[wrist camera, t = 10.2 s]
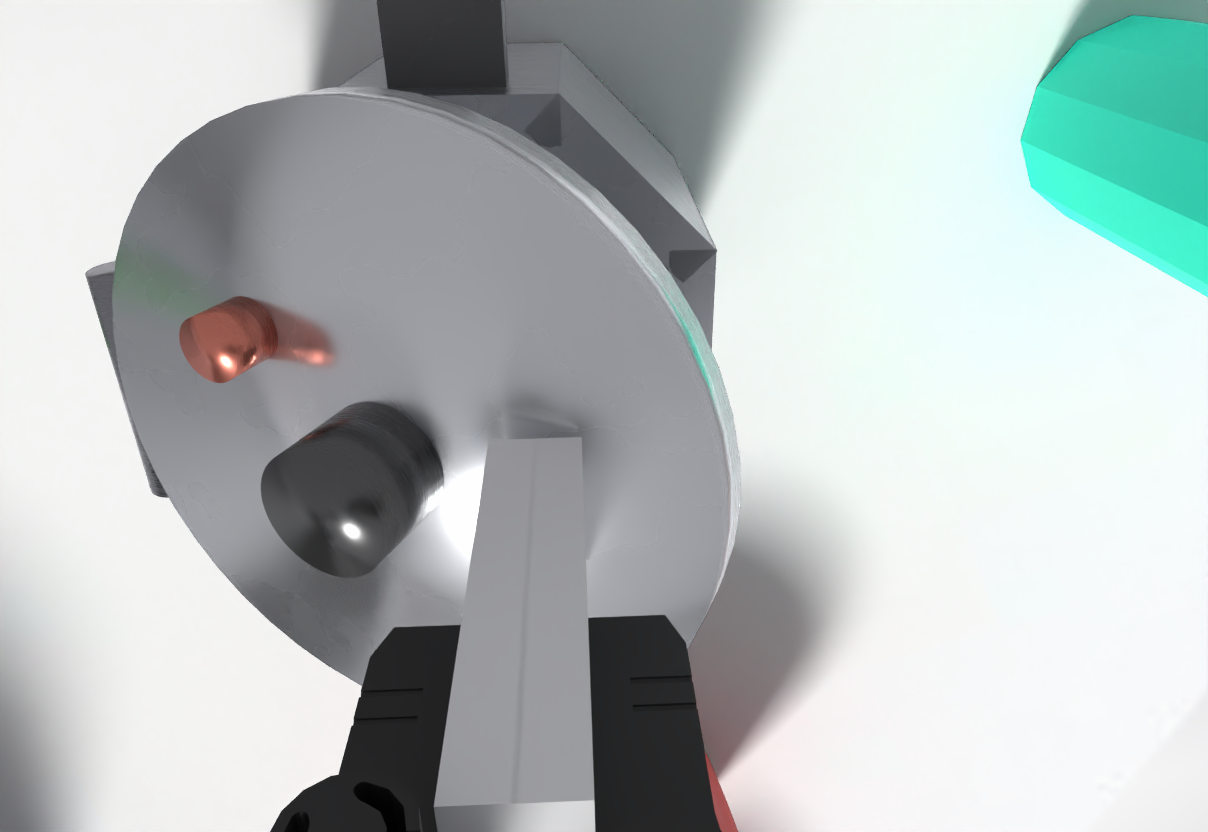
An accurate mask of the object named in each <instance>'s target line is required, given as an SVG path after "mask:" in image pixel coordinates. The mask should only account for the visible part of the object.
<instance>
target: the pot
mask: <svg viewBox="0 0 1208 832" xmlns="http://www.w3.org/2000/svg"><path fill="white" fill-rule="evenodd" d="M377 7H378V15H379V23H380V31H381V39H382V47H383V56H382V57H381V58H379V59H378V60H376V61H375V62H373V63H372V64H370V65H369V66H367V67H366V68H364V69H363V70H361V71H360V72H358V73H357V74H355V75H354V76H352V77H351V78H349V79H348V80H346V81H345V82H344V83H342V84H341V85H339V86H338V87H336V88H340V87H378V88H385V89H392V90H399V91H407V92H414V93H419V94H422V95H425V96H429V97H432V98H436V99H439V100H442V101H446V102H449V103H453V104H456V105H459V106H463V107H465V108H467V109H470V110H472V111H474V112H476V113H478V114H481V115H483V116H485V117H487V118H489V119H492V120H494V121H496V122H498V123H500V124H503V125H505V126H507V127H509V128H511V129H513V130H514V131H516V132H517V133H519V134H521V135H522V136H524V137H526V138H527V139H529V140H530V141H532V142H534V143H535V144H537V145H538V146H540V147H542V148H543V149H545V150H546V151H548V152H550V153H551V154H553V155H554V156H556V157H557V158H558V159H560V160H561V161H562V162H563V163H565V164H566V165H567V166H568V167H570V168H571V169H572V170H573V171H575V172H576V173H577V174H578V175H579V176H581V177H582V178H583V179H584V180H586V181H587V182H588V183H589V184H591V185H592V186H593V187H594V188H596V189H597V190H598V191H599V192H600V193H601V194H602V195H603V196H604V197H605V198H606V199H607V200H608V201H609V202H610V203H611V204H612V205H613V206H614V207H615V208H616V209H617V210H618V211H619V212H620V213H621V214H622V215H623V217H624V218H625V219H626V220H627V221H628V222H629V223H630V224H631V225H632V226H633V227H634V228H635V229H636V230H637V231H638V232H639V233H640V235H641V236H642V237H643V239H644V240H645V241H646V243H647V244H648V245H649V247H650V248H651V249H652V250H653V252H654V253H655V254H656V256H657V257H658V258H659V260H660V261H661V262H662V264H663V265H664V266H665V267H666V269H667V270H668V271H669V273H670V274H671V275H672V277H673V279H674V280H675V282H676V284H677V286H678V287H679V289H680V291H681V292H682V294H683V296H684V297H685V299H686V301H687V302H688V304H689V306H690V308H691V309H692V311H693V313H694V314H695V316H696V318H697V319H698V321H699V323H700V325H701V328H702V330H703V332H704V335H705V337H706V339H707V341H708V344H709V346H710V348H711V350H712V330H713V310H714V290H715V269H716V252H717V249H716V247H715V245H714V243H713V240H712V238H711V236H710V234H709V232H708V230H707V228H706V225H705V223H704V221H703V219H702V217H701V215H700V212H699V210H698V208H697V206H696V204H695V202H694V200H693V197H692V195H691V193H690V191H689V189H688V187H687V184H686V182H685V180H684V178H683V176H682V174H681V172H680V169H679V167H678V165H677V163H676V161H675V159H674V156H673V155H672V154H671V153H670V152H669V151H668V150H667V149H666V148H665V147H664V146H663V145H662V144H661V143H660V142H659V141H658V140H657V139H656V138H655V137H654V136H653V135H652V134H651V133H650V132H649V131H648V130H647V129H646V128H645V127H644V126H643V125H642V124H641V123H640V122H639V121H638V120H637V119H636V117H635V116H634V115H633V114H632V113H631V112H630V111H629V110H628V109H627V108H626V107H625V106H624V105H623V104H622V103H621V102H620V101H619V100H618V99H617V98H616V97H615V96H614V95H613V94H612V93H611V92H610V91H609V90H608V89H607V88H606V87H605V86H604V85H603V84H602V83H601V82H600V81H599V80H598V79H597V78H596V76H595V75H594V74H593V73H592V72H591V71H590V70H589V69H588V68H587V67H586V66H585V65H584V64H583V63H582V62H581V61H580V60H579V59H578V58H577V57H576V56H575V55H574V54H573V53H572V52H571V51H570V50H569V49H568V48H567V47H566V46H565V45H564V44H563V42H551V43H507V36H506V20H505V3H504V0H377Z"/></svg>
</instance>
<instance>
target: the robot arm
mask: <svg viewBox="0 0 1208 832" xmlns="http://www.w3.org/2000/svg"><path fill="white" fill-rule="evenodd" d="M270 832H722V831H721V829H720V827H719V823H718V820H717V817H716V814H715V810H714V804H713V798H712V792H711V786H710V780H709V775H708V769H707V763H706V757H705V751H704V745H703V740H702V734H701V728H700V722H699V716H698V710H697V708H696V699H695V693H694V687H693V682H692V675H691V669H690V663H689V658H688V652H687V646H686V642H685V641H684V639H683V638H682V637H681V635H680V634H679V633H678V631H677V630H676V629H675V627H674V626H673V625H672V623H671V622H670V621H669V619H668V618H667V617H666V615H646V616H619V617H593V618H588V602H587V574H586V545H585V517H584V488H583V460H582V437H569V438H535V439H504V440H488V446H487V453H486V460H485V467H484V473H483V480H482V487H481V493H480V500H479V507H478V513H477V520H476V527H475V534H474V540H473V547H472V554H471V560H470V567H469V574H468V580H467V587H466V594H465V601H464V607H463V614H462V621H461V625H441V626H414V627H394V628H393V629H392V631H391V632H390V633H389V634H388V635H387V637H386V638H385V639H384V640H383V642H382V643H381V644H380V645H379V647H378V648H377V649H376V650H375V651H374V653H373V654H372V655H371V656H370V659H369V663H368V667H367V670H366V674H365V678H364V681H363V685H362V689H361V697H359V700H358V704H357V708H356V711H355V715H354V724H353V726H351V730H350V734H349V738H348V741H347V745H346V749H345V753H344V756H343V760H342V764H341V767H340V771H339V775H334V776H330V777H328V778H326V779H324V780H322V781H321V782H319V783H317V784H315V785H313V786H311V787H309V788H307V789H305V790H303V791H302V792H301V793H300V794H299V795H298V796H297V797H296V798H295V799H294V800H293V801H292V802H291V803H290V804H289V805H287V806H286V807H285V808H284V809H283V810H282V811H281V813H280V815H279V817H278V818H277V820H276V822H275V824H274V826H273V828H272V829H271V831H270Z"/></svg>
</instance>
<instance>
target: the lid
mask: <svg viewBox="0 0 1208 832" xmlns="http://www.w3.org/2000/svg"><path fill="white" fill-rule="evenodd" d="M85 275H86V278H87V282H88V285H89V288H90V292H91V295H92V298H93V301H94V305H95V308H96V311H97V315H98V318H99V321H100V324H101V328H102V331H103V334H104V337H105V341H106V344H107V347H108V351H109V354H110V357H111V360H112V364H113V367H114V370H115V374H116V377H117V380H118V383H119V387H120V390H121V393H122V397H123V400H124V403H125V406H126V410H127V413H128V416H129V419H130V423H131V426H132V429H133V433H134V436H135V439H136V442H137V446H138V449H139V452H140V456H141V459H142V462H143V465H144V469H145V472H146V475H147V479H148V482H149V485H150V488H151V491H152V493H153V494H154V495H156V496H159V497H169V498H170V500H171V502H172V504H173V506H174V507H175V509H176V510H177V512H178V513H179V515H180V516H181V518H182V519H183V521H184V522H185V524H186V525H187V527H188V528H189V530H190V531H191V533H192V534H193V536H194V537H195V539H196V540H197V541H198V543H199V544H200V545H201V546H202V548H203V549H204V550H205V552H206V553H207V554H208V555H209V557H210V558H211V559H212V561H213V562H214V563H215V564H216V566H217V567H218V568H219V569H220V570H221V572H222V573H223V574H224V575H225V576H226V577H227V578H228V579H229V580H230V581H231V583H232V584H233V585H234V586H235V587H236V588H237V589H238V590H239V591H240V593H241V594H242V595H243V596H244V597H245V598H246V599H247V600H248V601H249V602H250V603H251V604H253V605H254V606H255V607H256V608H257V609H258V610H259V611H260V612H261V613H262V614H263V615H264V616H265V617H266V618H267V619H268V620H269V621H270V622H271V623H273V624H274V625H275V626H276V627H278V628H279V629H280V630H281V631H282V632H284V633H285V634H286V635H287V636H288V637H290V638H291V639H292V640H293V641H294V642H296V643H297V644H298V645H299V646H301V647H302V648H304V649H305V650H307V651H308V652H309V653H311V654H312V655H314V656H315V657H316V658H318V659H319V660H321V661H322V662H323V663H325V664H326V665H328V666H329V667H331V668H333V669H334V670H336V671H338V672H339V673H341V674H343V675H344V676H346V677H348V678H349V679H351V680H353V681H354V682H356V683H358V684H359V685H361V686H362V685H363V681H364V678H365V674H366V670H367V667H368V663H369V659H370V656H371V655H372V654H373V653H374V651H375V650H376V649H377V648H378V647H379V645H380V644H381V643H382V642H383V640H384V639H385V638H386V637H387V635H388V634H389V633H390V632H391V631H392V629H393V628H394V627H414V626H441V625H461V621H462V614H463V607H464V601H465V594H466V587H467V580H468V574H469V567H470V560H471V554H472V547H473V540H474V534H475V527H476V520H477V513H478V507H479V500H480V493H481V487H482V480H483V473H484V467H485V460H486V453H487V446H488V440H504V439H535V438H569V437H582V460H583V488H584V517H585V545H586V574H587V602H588V618H593V617H619V616H646V615H666V617H667V618H668V619H669V621H670V622H671V623H672V625H673V626H674V627H675V629H676V630H677V631H678V633H679V634H680V635H681V637H682V638H683V639H684V641H685V642H686V646H687V649H688V648H689V646H690V645H691V643H692V641H693V639H694V637H695V635H696V633H697V632H698V630H699V628H700V626H701V624H702V622H703V620H704V619H705V617H706V615H707V612H708V610H709V608H710V606H711V604H712V602H713V599H714V597H715V595H716V593H717V591H718V589H719V586H720V584H721V582H722V580H723V577H724V574H725V571H726V568H727V565H728V562H729V559H730V556H731V553H732V550H733V547H734V543H735V537H736V530H737V524H738V517H739V510H740V457H739V451H738V444H737V437H736V431H735V424H734V417H733V413H732V410H731V407H730V403H729V400H728V396H727V393H726V389H725V386H724V383H723V379H722V376H721V372H720V369H719V367H718V364H717V362H716V360H715V357H714V355H713V353H712V351H711V348H710V346H709V344H708V341H707V339H706V337H705V335H704V332H703V330H702V328H701V325H700V323H699V321H698V319H697V318H696V316H695V314H694V313H693V311H692V309H691V308H690V306H689V304H688V302H687V301H686V299H685V297H684V296H683V294H682V292H681V291H680V289H679V287H678V286H677V284H676V282H675V280H674V279H673V277H672V275H671V274H670V273H669V271H668V270H667V269H666V267H665V266H664V265H663V264H662V262H661V261H660V260H659V258H658V257H657V256H656V254H655V253H654V252H653V250H652V249H651V248H650V247H649V245H648V244H647V243H646V241H645V240H644V239H643V237H642V236H641V235H640V233H639V232H638V231H637V230H636V229H635V228H634V227H633V226H632V225H631V224H630V223H629V222H628V221H627V220H626V219H625V218H624V217H623V215H622V214H621V213H620V212H619V211H618V210H617V209H616V208H615V207H614V206H613V205H612V204H611V203H610V202H609V201H608V200H607V199H606V198H605V197H604V196H603V195H602V194H601V193H600V192H599V191H598V190H597V189H596V188H594V187H593V186H592V185H591V184H589V183H588V182H587V181H586V180H584V179H583V178H582V177H581V176H579V175H578V174H577V173H576V172H575V171H573V170H572V169H571V168H570V167H568V166H567V165H566V164H565V163H563V162H562V161H561V160H560V159H558V158H557V157H556V156H554V155H553V154H551V153H550V152H548V151H546V150H545V149H543V148H542V147H540V146H538V145H537V144H535V143H534V142H532V141H530V140H529V139H527V138H526V137H524V136H522V135H521V134H519V133H517V132H516V131H514V130H513V129H511V128H509V127H507V126H505V125H503V124H500V123H498V122H496V121H494V120H492V119H489V118H487V117H485V116H483V115H481V114H478V113H476V112H474V111H472V110H470V109H467V108H465V107H463V106H459V105H456V104H453V103H449V102H446V101H442V100H439V99H436V98H432V97H429V96H425V95H422V94H419V93H414V92H407V91H399V90H392V89H385V88H378V87H340V88H325V89H321V90H316V91H311V92H306V93H301V94H296V95H291V96H287V97H283V98H278V99H274V100H270V101H266V102H261V103H257V104H253V105H248V106H245V107H243V108H240V109H238V110H235V111H233V112H231V113H228V114H226V115H223V116H221V117H219V118H216V119H214V120H212V121H210V122H208V123H207V124H205V125H204V126H202V127H201V128H199V129H198V130H197V131H195V132H194V133H192V134H191V135H189V136H188V137H186V138H185V139H183V140H182V141H181V142H180V143H179V144H178V145H177V146H176V147H175V148H174V149H173V150H172V151H171V152H170V153H169V154H168V155H167V156H166V157H165V158H164V159H163V160H162V161H161V162H160V163H159V164H158V165H157V166H156V168H155V169H154V171H153V172H152V174H151V175H150V177H149V178H148V180H147V181H146V183H145V184H144V186H143V187H142V189H141V190H140V192H139V194H138V195H137V197H136V200H135V202H134V204H133V207H132V209H131V211H130V214H129V216H128V219H127V221H126V223H125V226H124V229H123V233H122V237H121V241H120V245H119V249H118V253H117V257H116V261H114V262H109V263H105V264H102V265H99V266H96V267H93V268H91V269H90V270H88V271H87V272H86V274H85Z"/></svg>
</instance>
